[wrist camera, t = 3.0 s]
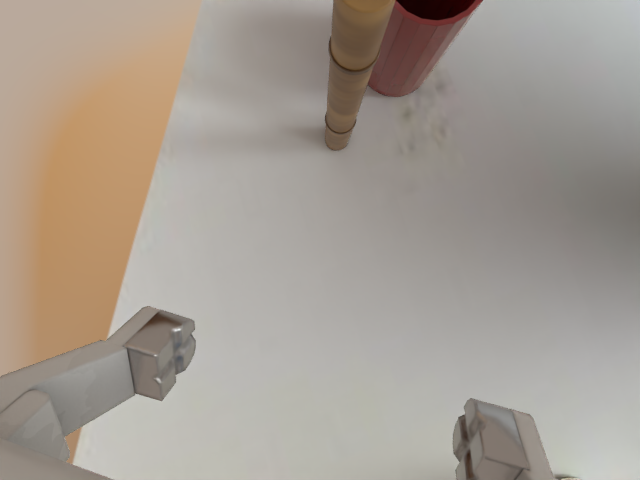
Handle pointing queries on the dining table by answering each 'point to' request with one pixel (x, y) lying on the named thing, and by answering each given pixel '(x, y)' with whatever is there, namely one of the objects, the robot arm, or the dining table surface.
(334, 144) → the tan rod with ring
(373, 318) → the dining table surface
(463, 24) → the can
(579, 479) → the drinking glass
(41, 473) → the robot arm
